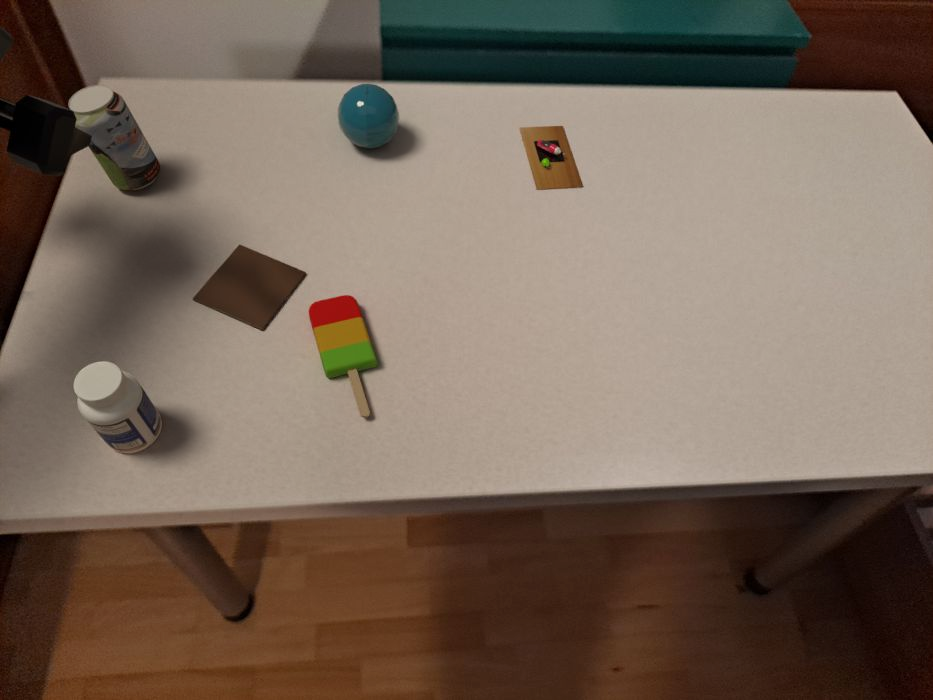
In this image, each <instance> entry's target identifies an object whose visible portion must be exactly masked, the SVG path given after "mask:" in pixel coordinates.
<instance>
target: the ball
mask: <svg viewBox="0 0 933 700" xmlns="http://www.w3.org/2000/svg"><path fill="white" fill-rule="evenodd" d="M337 121H338V125H339V129H340V130H341V133H342V134H343V135H344V136H345V137H346V138H347V140H348V141H349V142H350V143H351V144H353V145H355V146H358V147H359V148H364V149H377V148H380V147H382V146H384V145H386V144H387V143H388V142H390V141H391V140H392V139H393V137H395V135H396V132H397V131H398V127H399V124H400V112H399V108H398V105H397V102H396V100H395V99H394V97H393V96H392V95H391V94H390V93H389V92H388V90H386V89H385V88H384V87H381V86H380V85H377V84H373V83H361V84H358V85H355V86H353V87H351V88H350V89H349V90H347V91H346V92H345V93H344V94H343V96H342V98H341V100H340V102H339V104H338V107H337Z"/></svg>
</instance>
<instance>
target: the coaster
mask: <svg viewBox="0 0 933 700" xmlns="http://www.w3.org/2000/svg"><path fill="white" fill-rule="evenodd" d="M306 275H307V272H306V271H304V270H302V269H299V268H297V267H295V266H292V265H289V264H288V263H284V262H283V261H280V260H278V259H275V258H273V257H271V256H268V255H266V254H263V253H261V252H259V251H257V250H254V249H252V248H250V247H247V246H245V245H243V244H238V245H237V247H236V248H234V250H233V251H232V252H231V253H230V254H229V256H228V257H227V258H226V259H225V260H224V262H223V263H222V264H221V265H220V266H219V267H218V268H217V269H216V270H215V272H214V273H213V274H212V275H211V276H210V277H209V279H208V280H207V281H206V282H205V283H204V284H203V285H202V287H201V288H200V289H199V290H198V291H197V293H195V294H194V296H193V297H192V301H194V302H195V303H197V304H198V303H199V304H201V305H203V306H205V307H207V308H209V309H211V310H214V311H216V312H219V313H220V314H223V315H225V316H227V317H230V318H231V319H234V320H237V321H239V322H242V323H243V324H247V326H250V327H251V328H254V329H257V330H259V331H261V332H263V331H264V330H265V328H266V327H267V326H268V325H269V323H270V322H271V321H272V320H273V318H274V317H275V315H276V314H277V313H278V311H279V310H280V309H281V308H282V306H284V304H285V303H286V301H287V300H288V299H289V297H291V295H292V294H293V292H294V291H295V289H297V287H298V285H300V284H301V282H302V280H303V279H304V278H305V276H306Z"/></svg>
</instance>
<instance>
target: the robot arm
mask: <svg viewBox="0 0 933 700" xmlns="http://www.w3.org/2000/svg"><path fill="white" fill-rule="evenodd" d="M13 45H14V37H13V36H12V35H11V34H10V33H9V32H8V31H7V30H6V29H4V28H3V27H2V26H0V64H1V63H2V61H3V59H4V57H5V55H6V54H7V52H9V51H11V49H12V47H13ZM76 120H77V118H76V116H75V114H74V112H73V111H72V110H70V108H67V107H66V106H63V105H60V104H57V103H55V102H52V101H50V100H46V99H43V98H41V97H38V96H33V95H30V94H25V95H24V96H23V97H22V98H20V99H19V100H17V101H16V102H12V101H10V100H8V99H5V98H4V97H1V96H0V128H1V129H4V130H6V131H8V132H9V136H8V142H7V146H6V153H7V154H8V156H9V157H10V159H11V161H12V162H13V163H15V164H17V165H19V166H22V167H25V168H27V169H29V170H31V171H33V172H36V173H38V174H41V175H44V176H45V175H46V176H55V177H60V176H62V175H63V174H65V173H66V170H67V166H68V161H69V157H71V156H73V155H74V154H76V153H78V152H80V151H82V150H84V149H86V148H89V147H88V146H89V145H90V143H91V139H92V136H91V135H90V134H88V133H86V132H84V131H82V130H80V129H78V128H76V127H75V124H76Z"/></svg>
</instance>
